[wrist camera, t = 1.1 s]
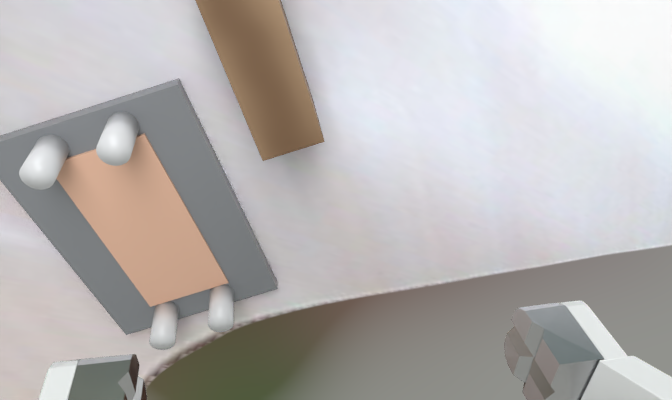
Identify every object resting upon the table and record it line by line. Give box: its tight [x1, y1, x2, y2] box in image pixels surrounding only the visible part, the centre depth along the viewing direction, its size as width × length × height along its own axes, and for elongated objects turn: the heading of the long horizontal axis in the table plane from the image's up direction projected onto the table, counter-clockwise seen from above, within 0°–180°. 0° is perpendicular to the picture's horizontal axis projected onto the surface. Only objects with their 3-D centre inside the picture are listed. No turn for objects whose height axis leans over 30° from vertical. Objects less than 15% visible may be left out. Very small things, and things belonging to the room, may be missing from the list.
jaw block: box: [196, 0, 324, 161], centre depth 32 cm, size 4×11×6 cm, turn 15°
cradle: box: [0, 79, 277, 350], centre depth 39 cm, size 14×20×4 cm
